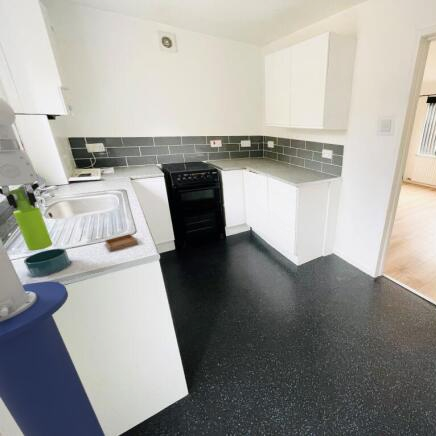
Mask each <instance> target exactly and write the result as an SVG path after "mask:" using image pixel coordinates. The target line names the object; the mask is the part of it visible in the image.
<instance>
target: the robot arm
mask: <svg viewBox="0 0 436 436" xmlns="http://www.w3.org/2000/svg"><path fill="white" fill-rule="evenodd" d="M15 122H16V112H15V110H14V108H12V106H11V105H10V103H8V102H7V101H6V100H5V99H4V98H2V97H0V195H3V196H5V197H6V200H7V202H8V205H9V206H10V207H12V208H13V209H18V208H17V204H16V202H15V200H16V198H15V194H7V193H8V192H10V191H11V190H10V187H11V186H19V185H24V186H25V189H26V192H27V193H26V195H27V198H29V200H30V203H31V205H32V206H33V207H34V206H35V205H36V203H38V201H37V198H36V195H35V193H34V192H35V191H36V190H37V189H38V188H39V187H41V186H43V185H44V184H45V183H46V179H44V178H43V177H42V176H40V175H39V174H38V173H37V172H36V170H35V168H34V166H33V163H32V161H31V159H30V157H29V155H28V153H27V152H26V150H25V149H22V148H21V146H20V144H19V140H18V138H17V136H16V133H15V130H14V128H13V125H14V123H15ZM9 186H10V187H9ZM22 285H23V284H22V281H21V278H19V275H18V273H17V270H16V269H15V267H14V264H13V263H12V260H11V258H10V256H9V254H8V252H7V250H6V248H5V245H4V243H3V241H2V238H1V237H0V322H1V321H4V320H7V319H9V318H11V317H14V316H16V315H18V314H20V313H21V312H23V311H25V310H26V309H28V308H29V307H31V306H32V305H33V304H34V303H35V301H36V300H37V296H36V294H35V293H34V292H28V291H25V290H24V288H23V286H22Z"/></svg>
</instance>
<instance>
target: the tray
mask: <svg viewBox="0 0 436 436" xmlns="http://www.w3.org/2000/svg"><path fill="white" fill-rule="evenodd" d="M104 243H105V245H106V247H107V249H108V250H109V251H110V253H112V252H115V251H118V250H122V249H125V248H130V247H133V246H136V245H138V242H137V239H136V238H135V236H133V235H132V233H127V234H124V235H120V236H117V237H113V238H108V239H104Z"/></svg>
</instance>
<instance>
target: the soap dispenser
mask: <svg viewBox="0 0 436 436" xmlns="http://www.w3.org/2000/svg"><path fill="white" fill-rule="evenodd" d="M9 191H10V192H8V193H7V194H12V195H16V199H15V202H16V204H17V208H16V209H17V210H14V211H13V215H14V217H15V220H16V223H17V225H18V227H19V230H20V233H21V235H22V237H23V240H24V242H25V245H26V247H27V250H28V251H30V252H31V251H32V252H33V251H34V252H35V251H39V250H44V249H47V248H49V247H51V246H52V245H53V241H52V238H51V236H50V233H49V230H48V228H47V225H46V222H45V220H44V218H43V217H44V216H43V214H42V212H41V209H40V207H34V206H32V205H31V203H30V200H29V198H28V197H26V195H25V192H24V191H26V188H15V189H12V190H11V189H10V190H9Z"/></svg>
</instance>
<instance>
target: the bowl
mask: <svg viewBox="0 0 436 436" xmlns="http://www.w3.org/2000/svg"><path fill="white" fill-rule="evenodd" d="M23 263H24V265H25V269H26V270H27V272H28V274H29V276H31V277H36V278H37V277H45V276H49V275H53V274H55V273H58V272H61V271H63V270H65V269H67V268H68V267H69V266H70V265H71V260H70V257H69V255H68V251H67V250H66V249H65V248H52V249H46V250H43V251H39V252H37V253H34V254H32V255H29V256H28V257H26V258H25V259H24V260H23Z"/></svg>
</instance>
